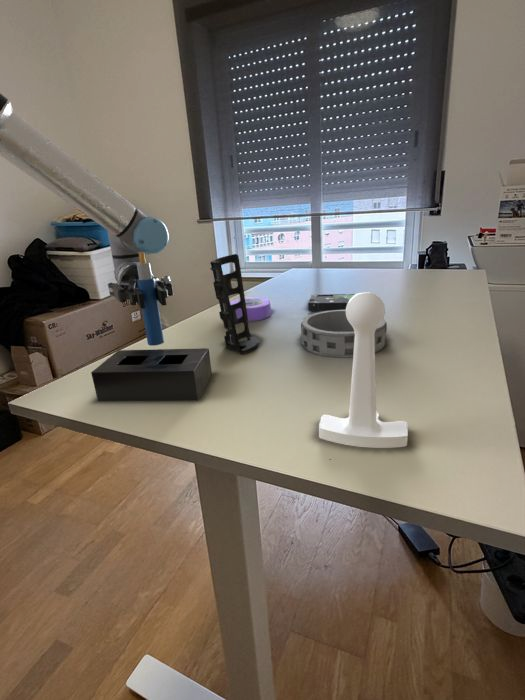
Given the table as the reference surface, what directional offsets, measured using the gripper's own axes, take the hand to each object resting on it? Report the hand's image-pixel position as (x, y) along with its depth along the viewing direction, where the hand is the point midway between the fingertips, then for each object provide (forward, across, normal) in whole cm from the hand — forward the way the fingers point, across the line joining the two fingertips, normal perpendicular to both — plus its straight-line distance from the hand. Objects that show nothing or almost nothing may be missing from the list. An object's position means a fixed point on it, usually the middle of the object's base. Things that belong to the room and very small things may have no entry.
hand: (152, 299), depth 74 cm
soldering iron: (-5, 0, -10) cm, 11 cm away
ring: (+4, -38, -15) cm, 41 cm away
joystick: (+36, -20, -15) cm, 44 cm away
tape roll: (-29, -30, -15) cm, 44 cm away
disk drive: (-22, -54, -15) cm, 60 cm away
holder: (-7, -18, -15) cm, 24 cm away
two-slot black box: (+7, +2, -15) cm, 17 cm away
